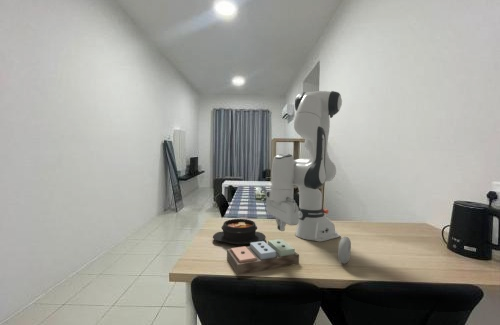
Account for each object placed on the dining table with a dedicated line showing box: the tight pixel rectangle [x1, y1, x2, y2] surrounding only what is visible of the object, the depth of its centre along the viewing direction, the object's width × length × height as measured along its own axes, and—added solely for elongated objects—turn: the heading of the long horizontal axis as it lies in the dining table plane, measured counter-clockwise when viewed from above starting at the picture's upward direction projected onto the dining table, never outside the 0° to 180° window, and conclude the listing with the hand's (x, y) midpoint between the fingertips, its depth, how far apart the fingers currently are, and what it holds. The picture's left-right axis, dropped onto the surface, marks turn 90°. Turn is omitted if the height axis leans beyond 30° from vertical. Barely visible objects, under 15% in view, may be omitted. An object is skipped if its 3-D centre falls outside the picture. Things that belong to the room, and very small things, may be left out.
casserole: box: [212, 218, 266, 245], centre depth 114 cm, size 25×19×8 cm
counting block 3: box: [267, 238, 296, 257], centre depth 96 cm, size 6×11×4 cm, turn 21°
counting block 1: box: [230, 246, 256, 263], centre depth 90 cm, size 6×11×4 cm, turn 21°
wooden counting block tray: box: [226, 245, 300, 275], centre depth 93 cm, size 24×13×4 cm, turn 111°
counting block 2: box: [249, 240, 276, 260], centre depth 93 cm, size 6×11×4 cm, turn 21°
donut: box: [337, 236, 352, 265], centre depth 93 cm, size 10×4×10 cm, turn 148°
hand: (280, 230), depth 95 cm, fingers closed
